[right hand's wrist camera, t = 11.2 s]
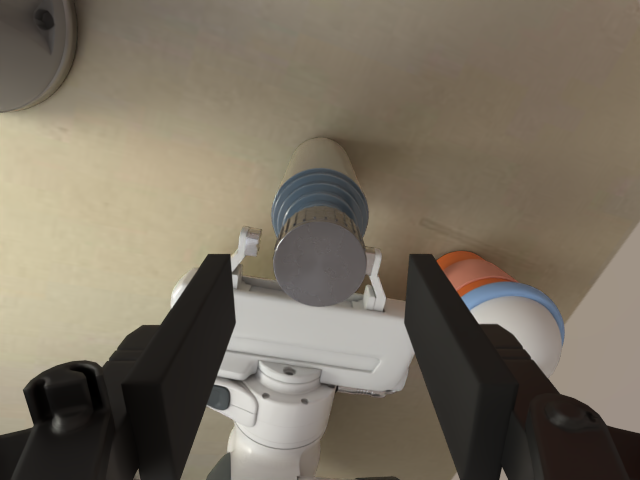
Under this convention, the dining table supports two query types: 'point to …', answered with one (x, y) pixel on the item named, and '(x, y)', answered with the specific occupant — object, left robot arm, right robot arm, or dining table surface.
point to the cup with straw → (508, 306)
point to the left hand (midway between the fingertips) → (312, 239)
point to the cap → (319, 257)
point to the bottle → (319, 184)
